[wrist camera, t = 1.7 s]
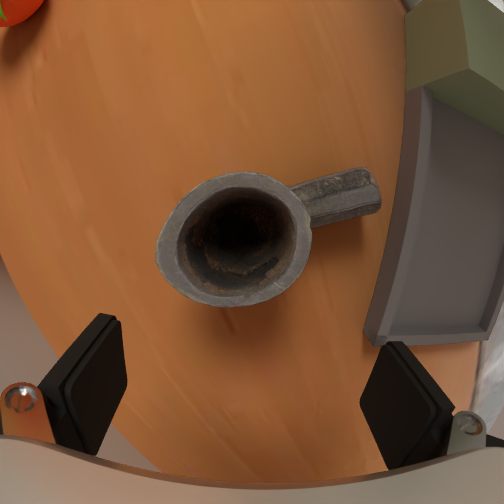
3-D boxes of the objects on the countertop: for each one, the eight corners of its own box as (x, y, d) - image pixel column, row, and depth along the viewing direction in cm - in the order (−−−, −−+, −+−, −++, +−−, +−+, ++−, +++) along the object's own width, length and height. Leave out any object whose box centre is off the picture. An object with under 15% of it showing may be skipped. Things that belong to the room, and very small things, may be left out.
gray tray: (404, 15, 16) (453, -23, 8) (512, 80, 17) (563, 71, 9) (362, 330, 23) (402, 389, 16) (475, 329, 24) (518, 366, 17)
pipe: (366, 221, 21) (424, 249, 13) (201, 272, 22) (180, 326, 14) (345, 141, 19) (400, 128, 12) (172, 193, 20) (132, 208, 12)
